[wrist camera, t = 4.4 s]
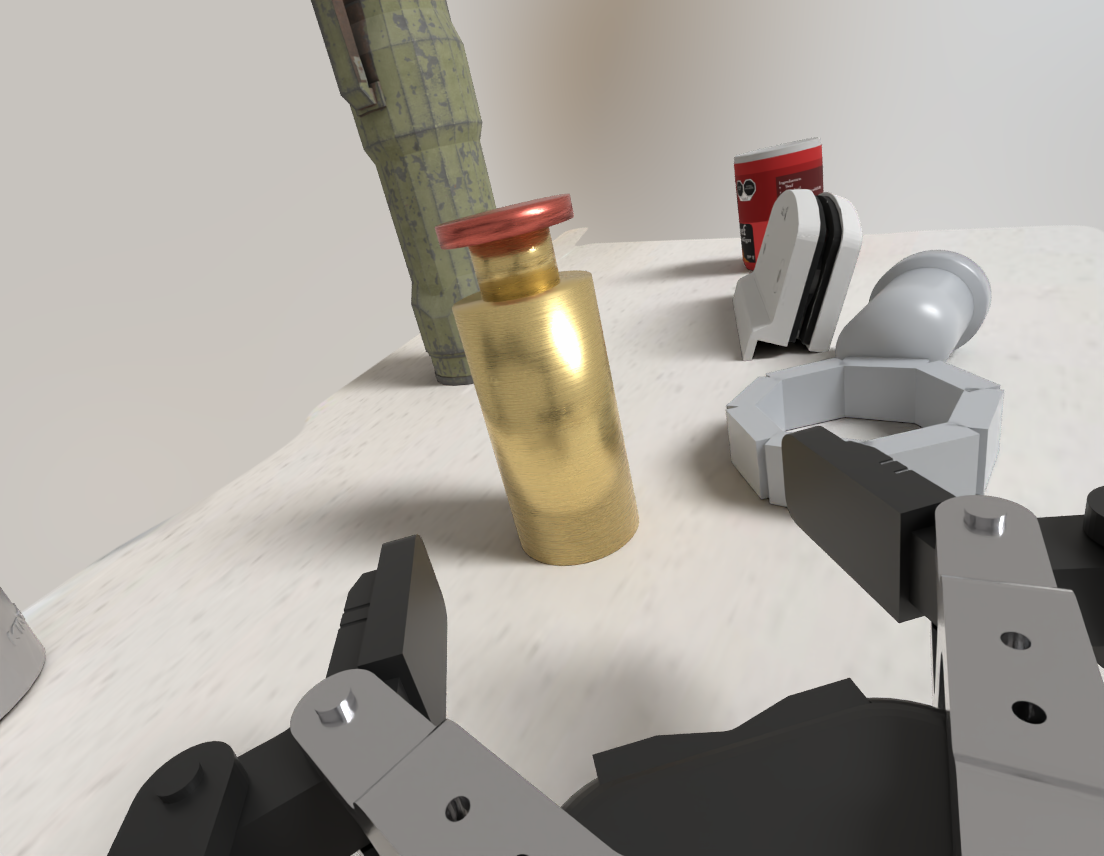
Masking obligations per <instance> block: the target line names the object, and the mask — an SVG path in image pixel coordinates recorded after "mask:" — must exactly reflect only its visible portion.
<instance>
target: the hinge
mask: <svg viewBox="0 0 1104 856" xmlns="http://www.w3.org/2000/svg"><path fill="white" fill-rule="evenodd" d="M862 240H863V234H862V229H861V223H860V219H859V216H858V213H857V211H856V209H855V207H854V205H853V204H852V203H851V202H850V201H849V200H847V199H845V198H842V197H839V196H837V195H835V194H832V193H828V192H823V193H821V194H819V195H816V196H815V195H814V194H813V192H812V191H810V190H808V189H797V190H786V191H784V192H783V193H782V194H781V195H780V196H779V197H778V199H777V200H776V201H775V203H774V206H773V208H772V211H771V215H770V218H769V221H768V225H767V228H766V232H765V235H764V238H763V242H762V245H761V249H760V252H759V255H758V259H757V262H756V266H755V269H754V271H753V272H752V273H750V274H748V275H746V276H744V277H742V278H740V279H739V280H738V282H737V286H736V290H735V293H734V297H733V305H734V311H735V317H736V323H737V328H738V334H739V340H740V346H741V352H742V357H743V361H751V360H752V357H753V353H754V350H755V347H756V343H757V340H760V341H764V342H768V343H773V344H777V345H781V346H786V347H787V345H788V341H789V342H795V340H796V338H797V339H800V340H801V342H802V344H805V345H806V346H807V348H808V350H809V351H814V352H825V351H829V348H830V344H831V341H832V338H833V335H834V332H835V329H836V325H837V322H838V319H839V316H840V313H841V310H842V306H843V303H844V300H845V297H846V294H847V290H848V287H849V284H850V281H851V278H852V275H853V271H854V268H855V265H856V262H857V259H858V255H859V252H860V249H861V245H862Z"/></svg>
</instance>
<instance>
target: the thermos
mask: <svg viewBox="0 0 1104 856" xmlns="http://www.w3.org/2000/svg"><path fill="white" fill-rule="evenodd" d="M311 2H312V5H313V8H314V11H315V15H316V18H317V21H318V24H319V27H320V30H321V33H322V37H323V39H324V43H325V46H326V49H327V52H328V56H329V59H330V62H331V65H332V68H333V72H334V75H335V78H336V81H337V84H338V88H339V91H340V94H341V96H342V97H343V98H344V99H345V100H346V101H347V102H348V103H349V104H350V107H351V110H352V113H353V116H354V120H355V123H356V126H357V129H358V133H359V136H360V139H361V142H362V145H363V148H364V150H365V152H366V153H367V154H368V156H369V157H370V158H371V160H372V161H373V162H374V164H375V165H376V168H377V171H378V174H379V178H380V181H381V184H382V187H383V191H384V194H385V197H386V200H387V203H388V206H389V210H390V213H391V216H392V219H393V223H394V226H395V229H396V233H397V235H398V238H399V242H400V245H401V249H402V252H403V255H404V258H405V262H406V265H407V268H408V271H409V274H410V278H411V281H412V298H411V305H412V308H413V311H414V314H415V317H416V320H417V324H418V327H419V330H420V333H421V336H422V340H423V343H424V346H425V349H426V352H428V353H429V356H431V359H432V362H433V365H434V368H435V374H436V378H437V381H438V382H440V383H442V384H446V385H464V384H472V383H474V382H473V378H472V375H471V372H470V368H469V365H468V361H467V358H466V355H465V351H464V348H463V344H462V341H461V338H460V334H459V331H458V327H457V324H456V321H455V317H454V314H453V310H452V307H453V305H454V304H455V303H456V302H458V301H460V300H461V299H463V298H465V297H467V296H469V295H472V294H474V293H477V292H479V291H480V288H479V285H478V281H477V277H476V274H475V270H474V266H473V263H472V259H471V255H470V252H469V248H468V247H462V248H456V249H446V250H443V249H441V248H440V245H439V241H438V238H437V234H436V231H435V226H437V225H440V224H443V223H446V222H449V221H452V220H456V219H459V218H463V217H466V216H470V215H474V214H478V213H481V212H485V211H489V210H493V209H496V206H495V201H494V197H493V193H492V189H491V185H490V181H489V176H488V172H487V168H486V164H485V160H484V156H483V152H482V148H481V144H480V137H481V128H482V120H481V116H480V112H479V107H478V103H477V99H476V95H475V91H474V86H473V82H472V78H471V74H470V70H469V66H468V61H467V57H466V53H465V49H464V44H463V43H462V41H461V39H460V37H459V35H458V33H457V32H456V30H455V28H454V26H453V24H452V22H451V18H450V14H449V10H448V6H447V2H446V0H311Z"/></svg>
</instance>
